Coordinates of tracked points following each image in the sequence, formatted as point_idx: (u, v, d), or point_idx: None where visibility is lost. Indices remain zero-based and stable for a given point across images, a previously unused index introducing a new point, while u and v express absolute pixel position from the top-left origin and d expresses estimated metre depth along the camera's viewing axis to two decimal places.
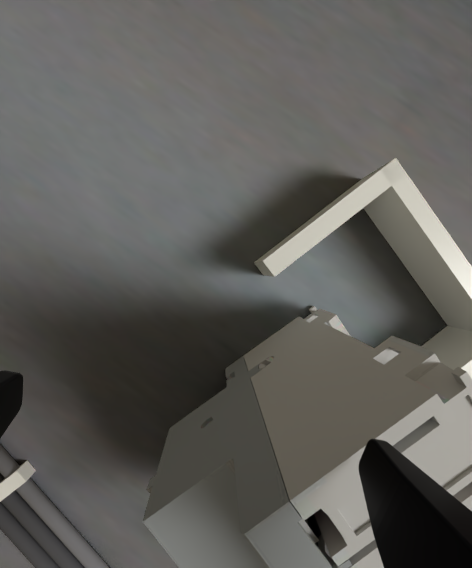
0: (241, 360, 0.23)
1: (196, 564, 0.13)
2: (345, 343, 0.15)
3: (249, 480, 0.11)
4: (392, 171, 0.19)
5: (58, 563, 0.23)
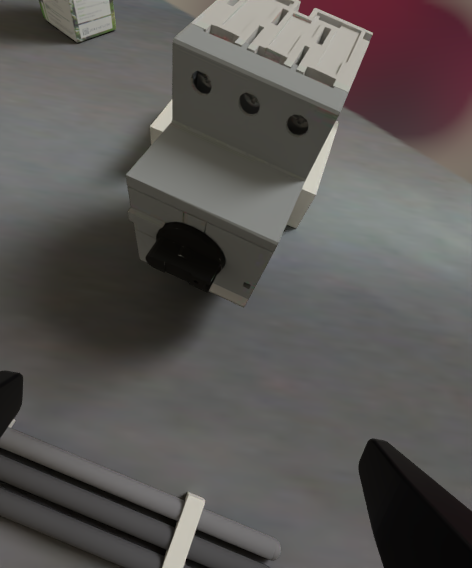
0: None
1: (187, 190, 0.14)
2: None
3: None
4: None
5: (85, 508, 0.17)
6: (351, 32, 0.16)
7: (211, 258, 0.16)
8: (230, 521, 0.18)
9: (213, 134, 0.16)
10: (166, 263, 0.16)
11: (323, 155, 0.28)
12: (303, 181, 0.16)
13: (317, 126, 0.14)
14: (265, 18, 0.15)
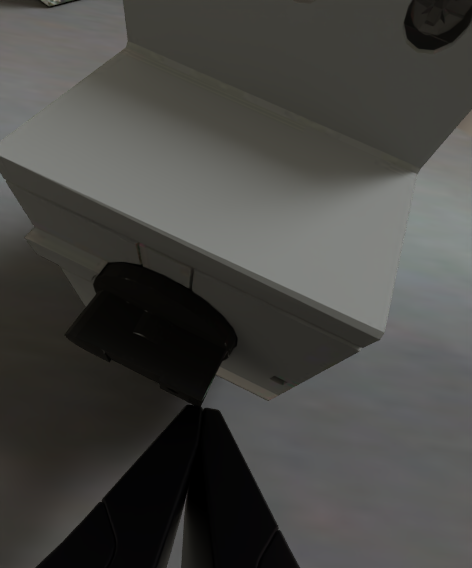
0: None
1: (145, 191, 0.06)
2: None
3: None
4: None
5: None
6: None
7: (208, 339, 0.08)
8: None
9: (214, 70, 0.07)
10: (107, 351, 0.07)
11: None
12: (414, 173, 0.07)
13: None
14: None
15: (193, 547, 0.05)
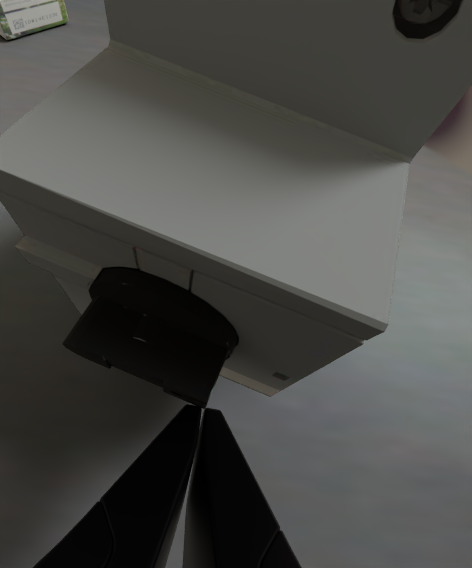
0: None
1: (139, 194, 0.06)
2: None
3: None
4: None
5: None
6: None
7: (209, 339, 0.07)
8: None
9: (201, 66, 0.07)
10: (108, 359, 0.07)
11: None
12: (406, 163, 0.07)
13: None
14: None
15: (195, 547, 0.05)
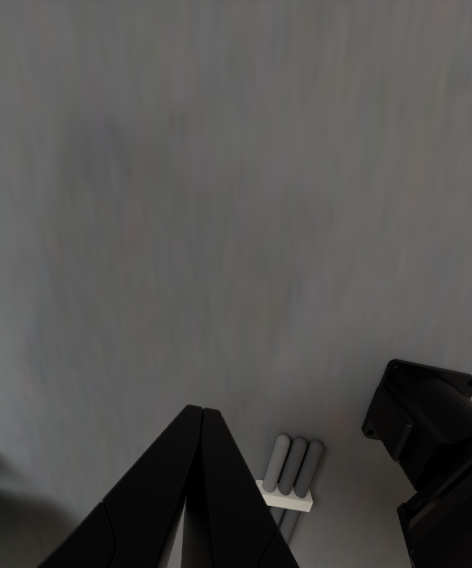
0: None
1: None
2: None
3: None
4: None
5: None
6: None
7: None
8: (268, 471, 0.24)
9: None
10: None
11: None
12: None
13: None
14: None
15: (193, 547, 0.05)
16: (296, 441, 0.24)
